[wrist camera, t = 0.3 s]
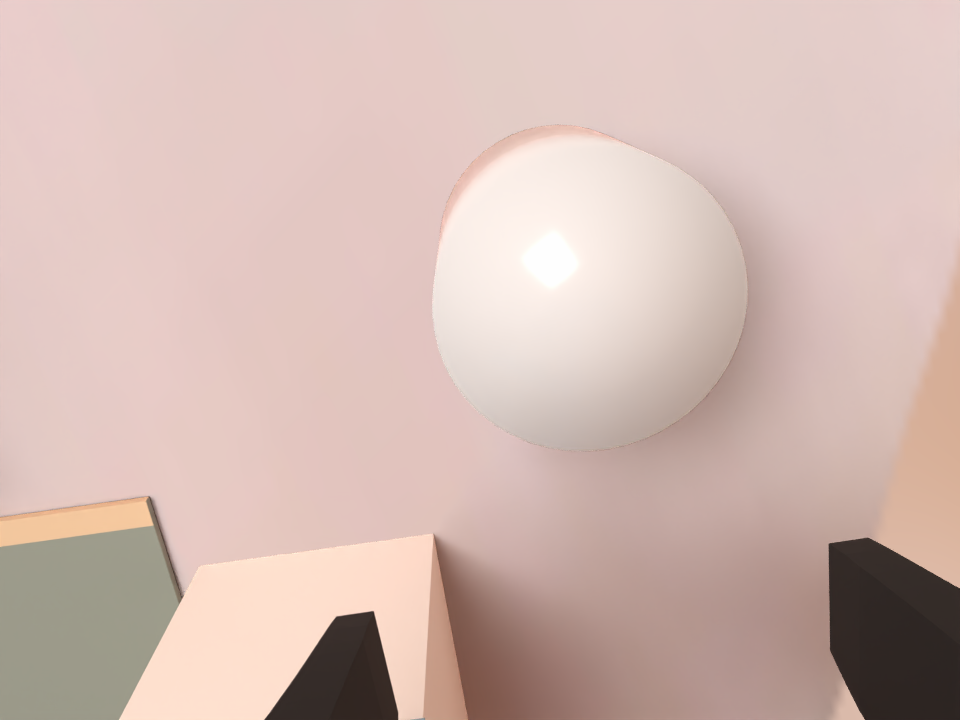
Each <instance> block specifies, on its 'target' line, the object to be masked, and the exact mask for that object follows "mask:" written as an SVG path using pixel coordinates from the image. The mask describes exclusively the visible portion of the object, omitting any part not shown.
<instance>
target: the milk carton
mask: <svg viewBox="0 0 960 720" xmlns="http://www.w3.org/2000/svg"><path fill="white" fill-rule="evenodd" d="M370 611H374V614H375V618H376V622H377V626H378V630H379V634H380V639H381V643H382V647H383V651H384V655H385V659H386V663H387V668H388V672H389V676H390V680H391V684H392V688H393V692H394V697H395V701H396V705H397V709H398V720H468V716H467V711H466V705H465V700H464V695H463V689H462V684H461V679H460V673H459V668H458V663H457V657H456V652H455V647H454V641H453V636H452V631H451V625H450V620H449V615H448V609H447V604H446V599H445V593H444V588H443V583H442V577H441V572H440V566H439V561H438V556H437V550H436V545H435V540H434V534H427V535H420V536H412V537H405V538H398V539H391V540H383V541H376V542H369V543H362V544H354V545H347V546H340V547H333V548H325V549H318V550H311V551H304V552H296V553H289V554H282V555H275V556H267V557H260V558H253V559H245V560H238V561H231V562H224V563H216V564H209V565H202V566H199V568H198V570H197V572H196V574H195V576H194V578H193V579H192V581H191V583H190V585H189V587H188V589H187V591H186V593H185V595H184V597H183V599H182V600H181V602H180V604H179V606H178V608H177V610H176V612H175V614H174V616H173V618H172V620H171V621H170V623H169V625H168V627H167V629H166V631H165V633H164V635H163V637H162V639H161V641H160V642H159V644H158V646H157V648H156V650H155V652H154V654H153V656H152V658H151V660H150V662H149V663H148V665H147V667H146V669H145V671H144V673H143V675H142V677H141V679H140V681H139V683H138V684H137V686H136V688H135V690H134V692H133V694H132V696H131V698H130V700H129V702H128V704H127V705H126V707H125V709H124V711H123V713H122V715H121V717H120V719H119V720H264V719H265V718H266V717H267V715H268V714H269V713H270V711H271V710H272V709H273V707H274V706H275V704H276V703H277V701H278V700H279V699H280V697H281V696H282V694H283V693H284V692H285V690H286V689H287V687H288V686H289V685H290V683H291V682H292V680H293V679H294V678H295V676H296V675H297V673H298V672H299V670H300V669H301V667H302V666H303V664H304V663H305V661H306V660H307V658H308V657H309V655H310V654H311V652H312V651H313V649H314V648H315V646H316V645H317V643H318V642H319V640H320V639H321V637H322V636H323V634H324V633H325V631H326V630H327V628H328V627H329V625H330V624H331V623H332V621H333V620H334V619H335V617H336V616H343V615H349V614H356V613H363V612H370Z"/></svg>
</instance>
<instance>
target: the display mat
mask: <svg viewBox="0 0 960 720" xmlns="http://www.w3.org/2000/svg"><path fill="white" fill-rule="evenodd" d="M181 600H182V598H181V595H180V592H179V589H178V586H177V583H176V580H175V576H174V573H173V570H172V567H171V564H170V561H169V558H168V554H167V551H166V548H165V545H164V542H163V539H162V536H161V533H160V529H159V526H158V523H157V520H156V517H155V514H154V511H153V507H152V504H151V501H150V498H149V497H142V498H135V499H128V500H121V501H113V502H106V503H99V504H92V505H85V506H78V507H71V508H63V509H56V510H49V511H42V512H35V513H28V514H21V515H14V516H6V517H0V720H119V719H120V717H121V715H122V713H123V711H124V709H125V707H126V705H127V704H128V702H129V700H130V698H131V696H132V694H133V692H134V690H135V688H136V686H137V684H138V683H139V681H140V679H141V677H142V675H143V673H144V671H145V669H146V667H147V665H148V663H149V662H150V660H151V658H152V656H153V654H154V652H155V650H156V648H157V646H158V644H159V642H160V641H161V639H162V637H163V635H164V633H165V631H166V629H167V627H168V625H169V623H170V621H171V620H172V618H173V616H174V614H175V612H176V610H177V608H178V606H179V604H180V602H181Z"/></svg>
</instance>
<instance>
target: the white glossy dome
mask: <svg viewBox="0 0 960 720" xmlns="http://www.w3.org/2000/svg"><path fill="white" fill-rule="evenodd" d="M747 299H748V281H747V271H746V264H745V260H744V256H743V252H742V248H741V245H740V242H739V240H738V237H737V235H736V232H735V230H734V227H733V226H732V224H731V222H730V221H729V219H728V217H727V215H726V214H725V212H724V210H723V209H722V208H721V206H720V205H719V204H718V203H717V201H716V200H715V199H714V198H713V196H712V195H711V194H710V193H709V192H708V191H707V190H706V189H705V188H704V187H703V186H702V185H701V184H700V183H699V182H697V181H696V180H695V179H694V178H692V177H691V176H690V175H688V174H687V173H685V172H684V171H682V170H681V169H680V168H678V167H676V166H674V165H672V164H670V163H668V162H666V161H664V160H662V159H660V158H658V157H656V156H654V155H651V154H649V153H647V152H644V151H642V150H640V149H638V148H635V147H633V146H631V145H628V144H626V143H624V142H622V141H619V140H617V139H615V138H612V137H610V136H608V135H606V134H603V133H600V132H597V131H594V130H591V129H588V128H583V127H578V126H572V125H548V126H540V127H535V128H530V129H526V130H523V131H521V132H518V133H515V134H512V135H510V136H508V137H506V138H504V139H502V140H501V141H499V142H497V143H495V144H494V145H493V146H491V147H490V148H488V149H487V150H485V151H484V152H483V153H482V154H481V155H480V156H479V157H477V158H476V159H475V160H474V161H473V162H472V163H471V164H470V166H469V167H468V168H467V169H466V170H465V172H464V173H463V174H462V175H461V177H460V179H459V180H458V182H457V183H456V185H455V187H454V188H453V190H452V193H451V195H450V197H449V199H448V201H447V204H446V207H445V210H444V214H443V217H442V223H441V229H440V236H439V244H438V253H437V261H436V270H435V278H434V287H433V304H432V314H433V324H434V332H435V337H436V341H437V345H438V349H439V352H440V355H441V357H442V360H443V362H444V365H445V367H446V369H447V371H448V373H449V375H450V377H451V378H452V380H453V382H454V384H455V385H456V387H457V388H458V389H459V391H460V392H461V393H462V395H463V396H464V397H465V399H466V400H467V401H468V402H469V403H470V404H471V405H472V406H473V407H474V408H475V409H476V410H477V411H478V412H479V413H480V414H481V415H482V416H484V417H485V418H486V419H487V420H489V421H490V422H491V423H493V424H494V425H495V426H497V427H499V428H500V429H502V430H504V431H505V432H507V433H509V434H511V435H513V436H515V437H517V438H520V439H522V440H524V441H527V442H529V443H532V444H536V445H539V446H543V447H546V448H552V449H558V450H565V451H597V450H607V449H612V448H617V447H622V446H626V445H629V444H632V443H635V442H638V441H641V440H644V439H646V438H648V437H650V436H652V435H654V434H657V433H659V432H661V431H662V430H664V429H666V428H667V427H669V426H671V425H672V424H674V423H676V422H677V421H679V420H680V419H681V418H682V417H684V416H685V415H686V414H688V413H689V412H690V411H691V410H693V409H694V408H695V407H696V406H697V405H698V404H699V403H700V402H701V401H702V400H703V399H704V398H705V397H706V396H707V395H708V393H709V392H710V391H711V390H712V388H713V387H714V386H715V385H716V383H717V382H718V381H719V380H720V378H721V376H722V375H723V373H724V371H725V370H726V368H727V367H728V365H729V363H730V361H731V359H732V357H733V355H734V352H735V350H736V348H737V346H738V343H739V340H740V337H741V333H742V330H743V327H744V322H745V316H746V310H747Z"/></svg>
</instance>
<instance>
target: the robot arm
mask: <svg viewBox="0 0 960 720" xmlns="http://www.w3.org/2000/svg"><path fill="white" fill-rule="evenodd" d="M829 596H830V651H831V653H832V655H833V657H834V660H835V662H836V664H837V666H838V668H839V670H840V672H841V674H842V677H843V679H844V681H845V683H846V685H847V687H848V689H849V691H850V693H851V695H852V697H853V699H854V701H855V703H856V705H857V707H858V709H859V711H860V712H861V714H862V715H863V717H864V719H865V720H960V588H958V587H956V586H954V585H952V584H950V583H949V582H947V581H945V580H943V579H942V578H940V577H938V576H936V575H935V574H933V573H931V572H929V571H927V570H926V569H924V568H922V567H921V566H919V565H917V564H915V563H914V562H912V561H910V560H908V559H906V558H905V557H903V556H901V555H899V554H898V553H896V552H894V551H892V550H890V549H889V548H887V547H885V546H883V545H881V544H879V543H878V542H876V541H874V540H872V539H870V538H863V539H856V540H850V541H843V542H836V543H829ZM264 720H398V709H397V705H396V701H395V697H394V692H393V688H392V684H391V680H390V676H389V672H388V668H387V663H386V659H385V655H384V651H383V647H382V643H381V639H380V634H379V630H378V626H377V622H376V618H375V614H374V611H370V612H363V613H356V614H349V615H343V616H336V617H335V619H334V620H333V621H332V623H331V624H330V625H329V627H328V628H327V630H326V631H325V633H324V634H323V636H322V637H321V639H320V640H319V642H318V643H317V645H316V646H315V648H314V649H313V651H312V652H311V654H310V655H309V657H308V658H307V660H306V661H305V663H304V664H303V666H302V667H301V669H300V670H299V672H298V673H297V675H296V676H295V678H294V679H293V680H292V682H291V683H290V685H289V686H288V687H287V689H286V690H285V692H284V693H283V694H282V696H281V697H280V699H279V700H278V701H277V703H276V704H275V706H274V707H273V709H272V710H271V711H270V713H269V714H268V715H267V717H266V718H265V719H264Z"/></svg>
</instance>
